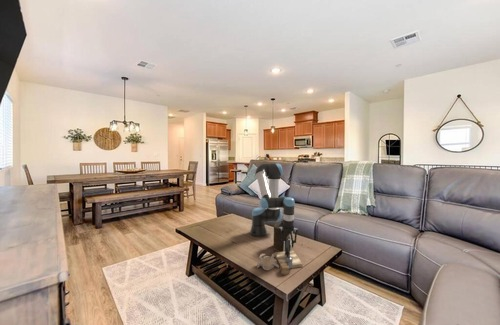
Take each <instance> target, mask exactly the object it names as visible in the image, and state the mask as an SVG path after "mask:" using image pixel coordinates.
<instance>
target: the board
mask: <svg viewBox="0 0 500 325" xmlns="http://www.w3.org/2000/svg"><path fill="white" fill-rule="evenodd" d="M274 254H275V255H276V256H275V257H276V260H277V262H278V263H279V265H280V264H284V263H286V255H285V252H280V251H275V252H274ZM290 256H291V257H292V258H293V264H292V268H291V269H294V268H303V265H304V264H303V262H302V261H301V260H300V258H299V257H298V255H297V254H296V252H295V251H294V250H292V252H291V251H290Z"/></svg>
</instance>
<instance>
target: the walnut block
mask: <svg viewBox="0 0 500 325" xmlns="http://www.w3.org/2000/svg"><path fill="white" fill-rule="evenodd" d="M279 269H280V270H279V271H280V273H281V275H289V274H290V268H289V266H288V264H287V263H284V264H280V263H279Z"/></svg>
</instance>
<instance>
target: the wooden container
mask: <svg viewBox="0 0 500 325" xmlns="http://www.w3.org/2000/svg"><path fill="white" fill-rule="evenodd" d="M282 226H283V220H280V221H278V222H274V225H273V244H272V245H273V249H274V250H275V251H276V252H284V247H282V242H281V241H280V231H279V227H282ZM284 232H285V231H284V230H283V229H282V239H283V236H284ZM293 235H294V234H293V232H292V236H293ZM285 239H290V251H291V242H292V241H291V236H290V233H286V236H285ZM284 241H285V240H284Z"/></svg>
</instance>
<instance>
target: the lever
mask: <svg viewBox="0 0 500 325" xmlns="http://www.w3.org/2000/svg"><path fill="white" fill-rule="evenodd" d="M285 255H286V263H287V264H288V266H289V269H293V268H292V264H293V258H292V257H291V256H290V239H285Z"/></svg>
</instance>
